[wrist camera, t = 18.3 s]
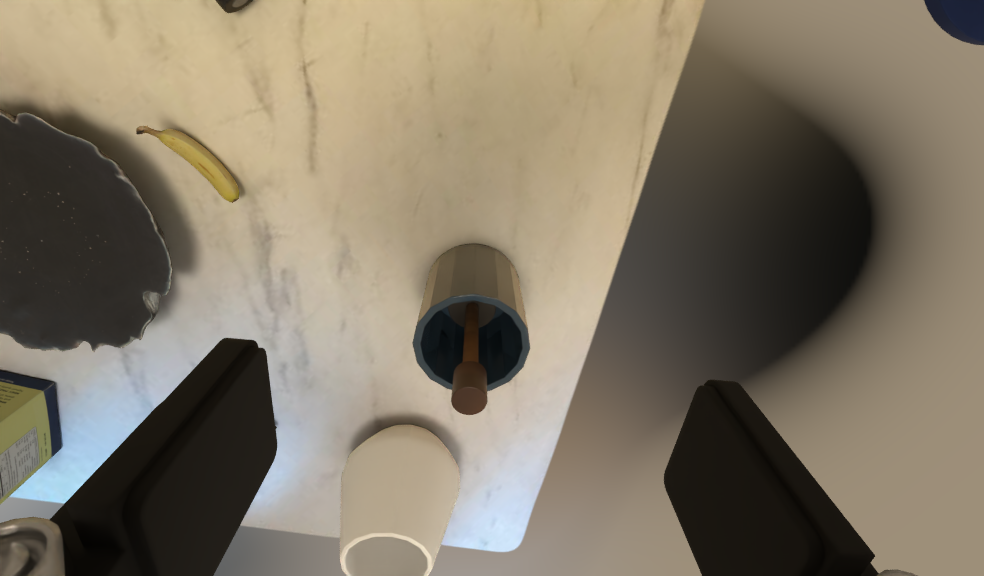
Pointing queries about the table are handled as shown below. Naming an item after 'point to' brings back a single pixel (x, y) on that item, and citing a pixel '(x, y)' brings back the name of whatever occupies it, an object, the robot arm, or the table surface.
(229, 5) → the toy vehicle
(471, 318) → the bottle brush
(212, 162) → the banana
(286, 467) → the table surface
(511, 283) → the container
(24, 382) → the protein box
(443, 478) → the cup
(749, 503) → the robot arm
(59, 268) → the board
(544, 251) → the table surface
